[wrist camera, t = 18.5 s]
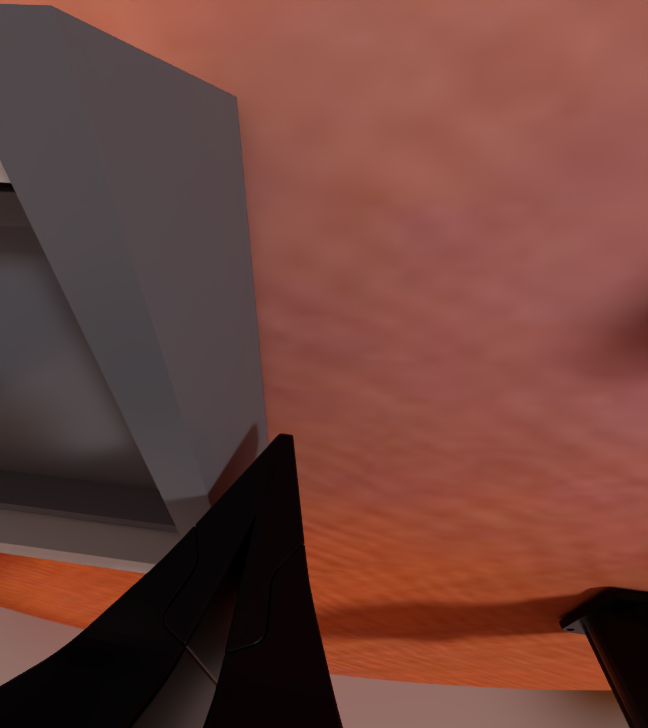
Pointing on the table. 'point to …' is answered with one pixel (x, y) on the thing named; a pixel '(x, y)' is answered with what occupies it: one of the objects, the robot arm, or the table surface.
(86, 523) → the dock
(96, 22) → the table surface
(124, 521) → the tray
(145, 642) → the robot arm
